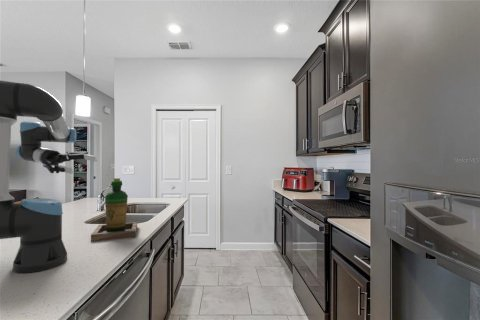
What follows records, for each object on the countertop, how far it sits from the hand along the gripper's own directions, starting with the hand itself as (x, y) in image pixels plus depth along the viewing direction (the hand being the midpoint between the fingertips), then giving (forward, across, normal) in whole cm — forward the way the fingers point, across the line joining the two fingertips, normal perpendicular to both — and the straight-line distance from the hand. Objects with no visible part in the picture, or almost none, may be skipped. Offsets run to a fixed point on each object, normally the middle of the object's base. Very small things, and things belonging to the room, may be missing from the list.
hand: (84, 164), depth 113 cm
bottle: (+13, +2, -36) cm, 38 cm away
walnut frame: (+13, +2, -36) cm, 39 cm away
